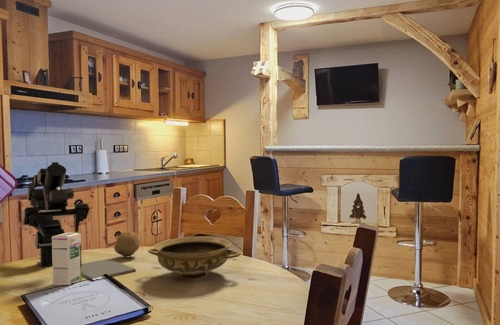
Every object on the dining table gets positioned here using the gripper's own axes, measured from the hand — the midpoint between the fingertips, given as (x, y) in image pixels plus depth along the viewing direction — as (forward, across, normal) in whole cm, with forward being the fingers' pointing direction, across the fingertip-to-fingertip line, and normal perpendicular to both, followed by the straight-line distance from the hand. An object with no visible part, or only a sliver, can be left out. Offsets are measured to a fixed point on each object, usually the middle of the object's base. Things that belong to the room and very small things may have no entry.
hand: (61, 234), depth 118 cm
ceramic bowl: (+28, +33, -8) cm, 44 cm away
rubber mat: (+9, +12, +10) cm, 18 cm away
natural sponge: (+1, +26, +18) cm, 31 cm away
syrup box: (+15, 0, +4) cm, 16 cm away
